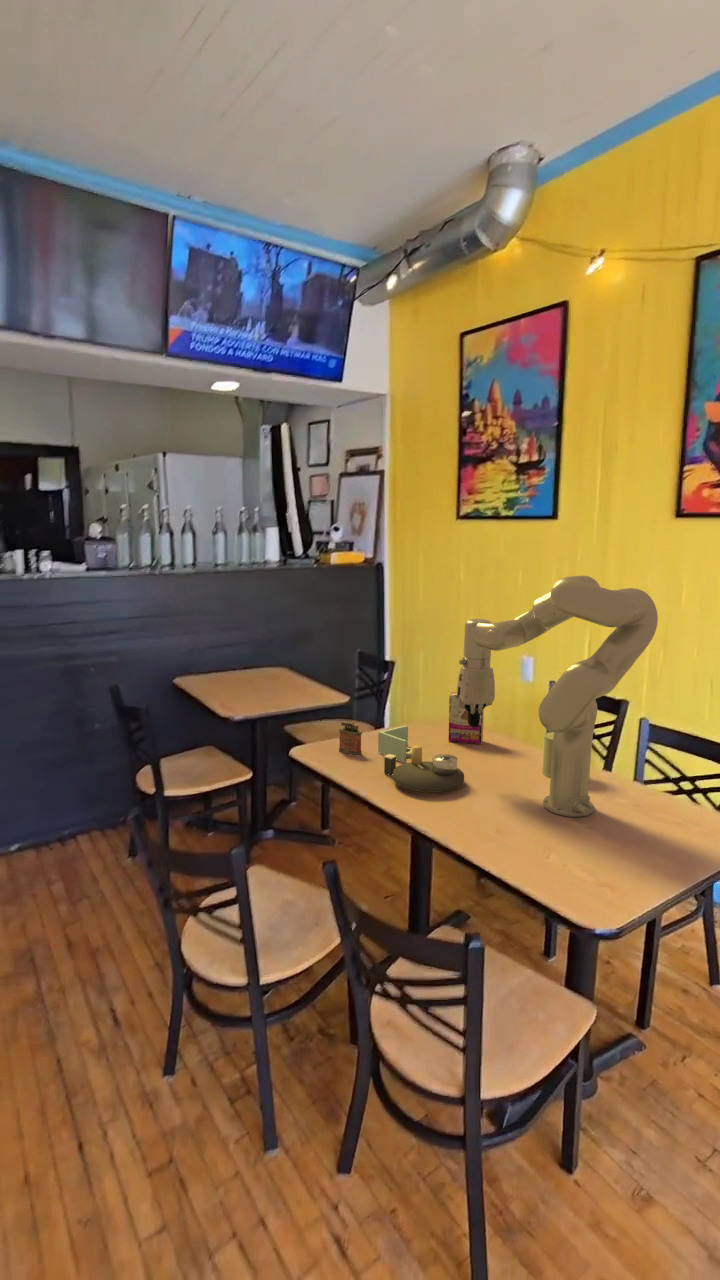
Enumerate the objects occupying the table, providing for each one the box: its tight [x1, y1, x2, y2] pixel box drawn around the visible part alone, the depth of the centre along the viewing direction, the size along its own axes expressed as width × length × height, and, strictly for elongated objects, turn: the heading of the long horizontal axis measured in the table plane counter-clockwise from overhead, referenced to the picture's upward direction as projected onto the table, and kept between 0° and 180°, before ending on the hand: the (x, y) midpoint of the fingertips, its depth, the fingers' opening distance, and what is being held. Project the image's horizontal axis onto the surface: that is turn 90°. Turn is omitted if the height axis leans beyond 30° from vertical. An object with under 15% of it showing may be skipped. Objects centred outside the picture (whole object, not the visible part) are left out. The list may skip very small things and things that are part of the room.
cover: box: [431, 753, 458, 776], centre depth 194 cm, size 7×7×4 cm
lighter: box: [338, 720, 363, 756], centre depth 218 cm, size 8×3×10 cm, turn 58°
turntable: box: [392, 745, 465, 793], centre depth 192 cm, size 20×20×6 cm
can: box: [541, 731, 554, 779], centre depth 201 cm, size 9×9×12 cm
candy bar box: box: [448, 691, 485, 745], centre depth 230 cm, size 11×5×16 cm, turn 73°
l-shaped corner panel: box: [377, 725, 412, 763], centre depth 218 cm, size 12×12×8 cm
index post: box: [383, 754, 397, 776], centre depth 200 cm, size 3×3×5 cm
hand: (473, 725), depth 195 cm, fingers closed
